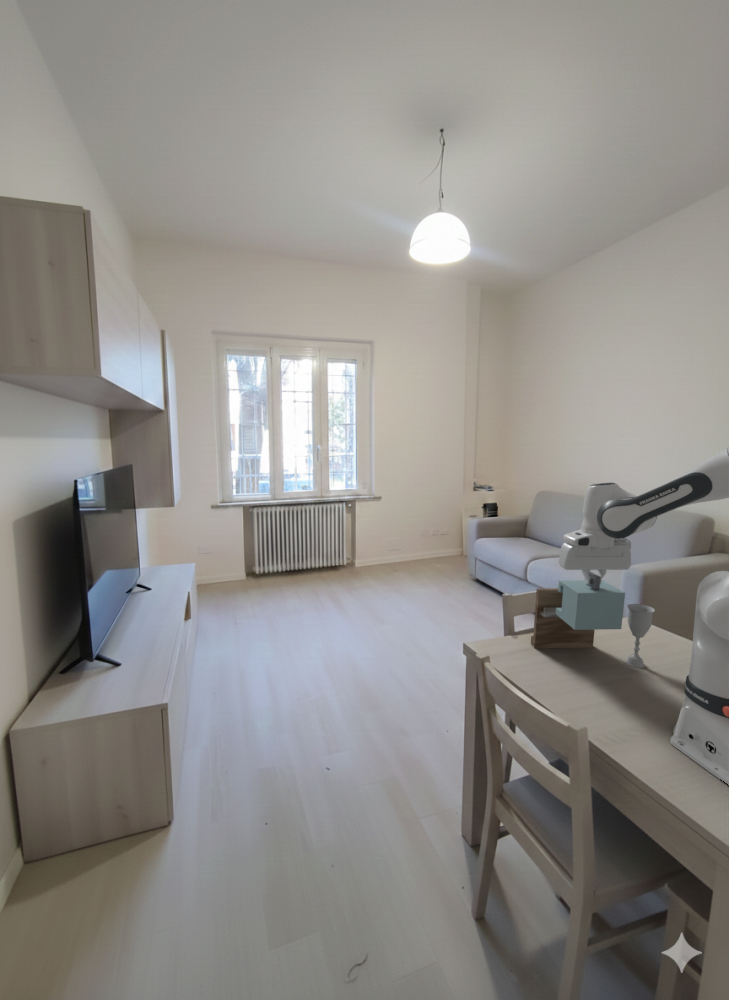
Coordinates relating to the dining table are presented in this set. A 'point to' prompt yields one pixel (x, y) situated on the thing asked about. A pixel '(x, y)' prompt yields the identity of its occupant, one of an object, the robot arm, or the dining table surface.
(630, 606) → the chalice
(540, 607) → the wall board
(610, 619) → the cabinet
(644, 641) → the dining table surface
